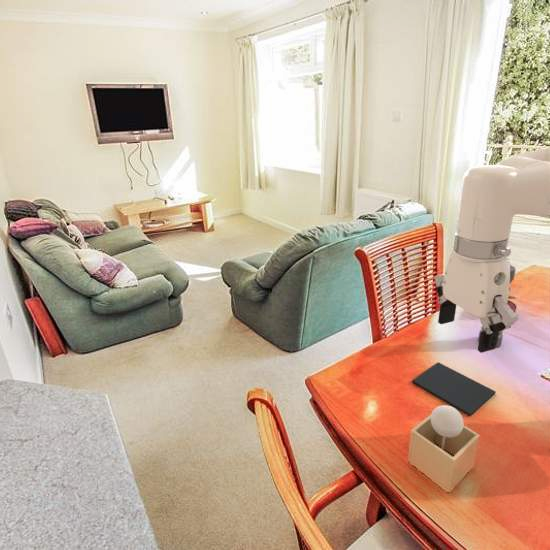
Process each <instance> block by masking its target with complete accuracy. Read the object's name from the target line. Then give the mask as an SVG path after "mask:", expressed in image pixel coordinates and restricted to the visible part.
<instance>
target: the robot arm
mask: <svg viewBox="0 0 550 550" xmlns="http://www.w3.org/2000/svg"><path fill="white" fill-rule="evenodd" d="M516 215H522V216H523V215H524V216H539V217H547V216H549V217H550V147H544V148H539V149H535V150H531V151H527V152H522V153H518V154H513V155H510V156H508V157H506V158H504V159H502V160H500V161H499V162H497V163H496V164H487V165H486V164H483V165H476V166H473V167H470V168H468V170H466V171H465V173H464V175H463V178H462V183H461V190H460V199H459V205H458V213H457V220H456V228H455V234H454V235H455V236H454V243H453V247H452V248H451V250H450V253H449V255H448V259H447V261H446V262H447V263H446V267H445V271H444V273H443V274H438V275H434V283H435V286H436V287H435V290H436V293H437V296H438V298H437V302H438V303H439V311H438V320H437V323H438V324H439V325H444V324H449V323H452V322H454V321H455V318H456V311H457V306H458V307H459V308H461V309H462V310H464V311H466V312H467V313H469V314H471V315H473V316H474V317H476V318H478V319H479V320H480V323H481V326H482V325H483V328H484V331H481V333H480V339H479V342H478V343H477V344H478V345H477V352H479V353H481V354H483V353H487V352H489V351H493V350H496V349H497V348H496V345H497V340H498V335H499V332H500V331H503V332H504V331H505V330H508V329H511V328H512V326H513V325H514V324H515V323H516V322H518V320H519V317H518V315H517V313H516V312H515V313H514V311H513V310H512V309H511V308H510V307H509V305H508V304H507V302H508V300H509V299H508V296H510V291H509V287H511V286H510V284H511V283H510V265H511V264H510V259H509V258H508V257H509V256H510V255H511V253H512V250H511V248H508V245H509V238H510V234H511V229H512V225H513V220H514V216H516ZM489 312H490V313H489ZM499 314H501V315H502V320H501V318H500V316H499ZM488 317H491V318H492V320H493V323H494V325H491V324H490V321H489V319H488Z"/></svg>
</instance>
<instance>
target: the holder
mask: <svg viewBox="0 0 550 550" xmlns="http://www.w3.org/2000/svg"><path fill="white" fill-rule="evenodd" d="M480 438H481V435H480V434H479V433H477V432H476V431H474V430H472V429H471V428H469V427H468V426H466V425H464V426H463V430H462V431H461V433H460V434H459V435H457V436H455V437H450V438H449V437H446V438H445V445H444V449H445V450H444V451H443V450H442V449H441V447H442V441H443V436H441V435H440V434H438V433H437V432H436V431H435V430H434V428H433V427H432V424H431V414H429V415H428V416H427V417H425V419H423V420H422V421H420V422H419V423H418V424H417V425H416V426H414V427H413V428H412V429H411V430H410V436H409V446H408V454H407V455H408V456H407V462H408V461H409V462H410V463H411V464H413V465H414V466H415V467H416V468H417V469H419V470H420V471H422V472H423V473H424V474H425V475H427V476H428V477H429V478H431V479H432V480H433V481H434V482H436V483H437V484H438V485H440V486H441V487H442V488H444V489H445V490H446V491H447V492H449V491H450V490H451V489H452V488H453V487H454V486H455V485H456V484H457V483H458V482H459V481H460V480H461V479H462V478H463V477H464V476H465V475H466V474H467V472H469V471H470V470H471V469H472V470H473V469H474V467H475V463H476V462H475V461H476V457H477V453H478V448H479V443H480ZM435 443H436V444H435ZM437 444H438V445H439V446H438V445H437ZM440 446H441V447H440ZM446 450H447V451H448V452H450V453H451V454H453V455H454V456H453V455H451V454H450V453H448V452H447V451H446ZM410 463H409V464H410ZM411 464H410V465H411ZM415 467H414V468H415ZM416 468H415V469H416ZM417 469H416V470H417ZM419 470H418V471H419ZM472 470H471V471H472ZM420 471H419V472H420ZM471 471H470V472H471ZM470 472H469V473H470ZM424 474H423V475H424ZM425 475H424V476H425ZM467 475H468V474H467ZM467 475H466V476H467ZM466 476H465V477H466ZM465 477H464V478H465ZM429 478H428V479H429ZM464 478H463V479H464ZM463 479H462V480H463ZM462 480H461V481H462ZM433 481H432V482H433ZM461 481H460V482H461ZM434 482H433V483H434ZM460 482H459V483H460ZM459 483H458V484H459ZM458 484H457V485H458ZM438 485H437V486H438ZM457 485H456V486H457ZM456 486H455V487H456ZM455 487H454V488H455ZM454 488H453V489H454ZM453 489H452V490H453ZM452 490H451V491H452ZM446 491H445V492H446ZM451 491H450V492H451ZM447 492H446V493H447ZM450 492H449V493H450Z"/></svg>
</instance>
